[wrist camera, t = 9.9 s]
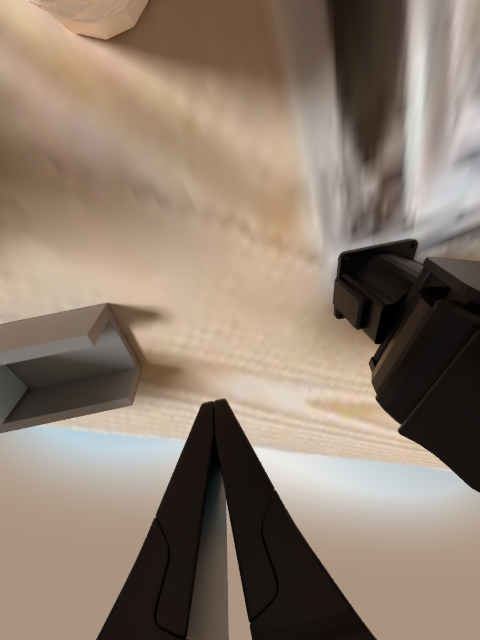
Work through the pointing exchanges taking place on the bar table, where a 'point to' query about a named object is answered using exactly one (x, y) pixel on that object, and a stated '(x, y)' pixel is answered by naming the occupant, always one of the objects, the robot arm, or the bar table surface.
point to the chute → (68, 365)
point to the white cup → (94, 15)
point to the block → (9, 391)
